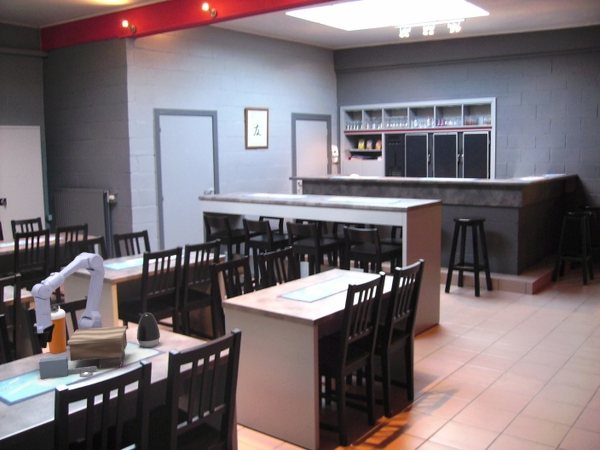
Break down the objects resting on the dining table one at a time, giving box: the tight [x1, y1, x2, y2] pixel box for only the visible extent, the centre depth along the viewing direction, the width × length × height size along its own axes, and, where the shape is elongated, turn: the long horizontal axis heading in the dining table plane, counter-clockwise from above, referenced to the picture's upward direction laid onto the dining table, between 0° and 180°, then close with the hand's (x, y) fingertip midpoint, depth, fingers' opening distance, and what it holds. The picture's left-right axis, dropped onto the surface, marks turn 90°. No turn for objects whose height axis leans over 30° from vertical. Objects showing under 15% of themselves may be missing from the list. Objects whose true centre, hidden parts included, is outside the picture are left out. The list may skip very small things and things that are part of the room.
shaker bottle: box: [47, 305, 67, 354], centre depth 278 cm, size 9×9×20 cm
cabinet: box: [66, 325, 128, 369], centre depth 260 cm, size 17×21×13 cm
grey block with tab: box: [38, 355, 98, 380], centre depth 249 cm, size 4×21×7 cm, turn 104°
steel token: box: [79, 370, 94, 378], centre depth 248 cm, size 5×5×2 cm
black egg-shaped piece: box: [136, 312, 161, 348], centre depth 281 cm, size 10×10×15 cm
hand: (46, 345), depth 257 cm, fingers open, 7 cm apart
